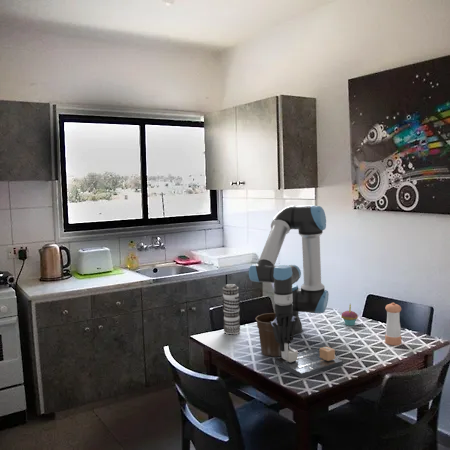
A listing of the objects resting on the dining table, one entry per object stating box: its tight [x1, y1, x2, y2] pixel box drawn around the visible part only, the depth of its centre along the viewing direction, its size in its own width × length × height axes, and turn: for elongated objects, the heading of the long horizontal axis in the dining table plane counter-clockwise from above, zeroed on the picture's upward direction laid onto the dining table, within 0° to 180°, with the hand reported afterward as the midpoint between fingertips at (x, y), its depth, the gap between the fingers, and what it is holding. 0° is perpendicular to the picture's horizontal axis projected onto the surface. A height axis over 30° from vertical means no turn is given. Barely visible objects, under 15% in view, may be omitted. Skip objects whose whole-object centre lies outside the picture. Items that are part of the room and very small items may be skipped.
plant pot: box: [255, 312, 282, 358], centre depth 220 cm, size 16×16×16 cm
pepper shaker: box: [384, 302, 403, 346], centre depth 226 cm, size 7×7×19 cm
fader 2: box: [319, 346, 336, 361], centre depth 205 cm, size 5×4×4 cm
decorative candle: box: [221, 283, 241, 335], centre depth 249 cm, size 9×9×25 cm
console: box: [274, 347, 344, 379], centre depth 205 cm, size 18×22×2 cm
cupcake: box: [340, 303, 359, 327], centre depth 256 cm, size 9×8×12 cm
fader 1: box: [283, 347, 299, 362], centre depth 205 cm, size 5×4×4 cm
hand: (284, 357), depth 203 cm, fingers closed
